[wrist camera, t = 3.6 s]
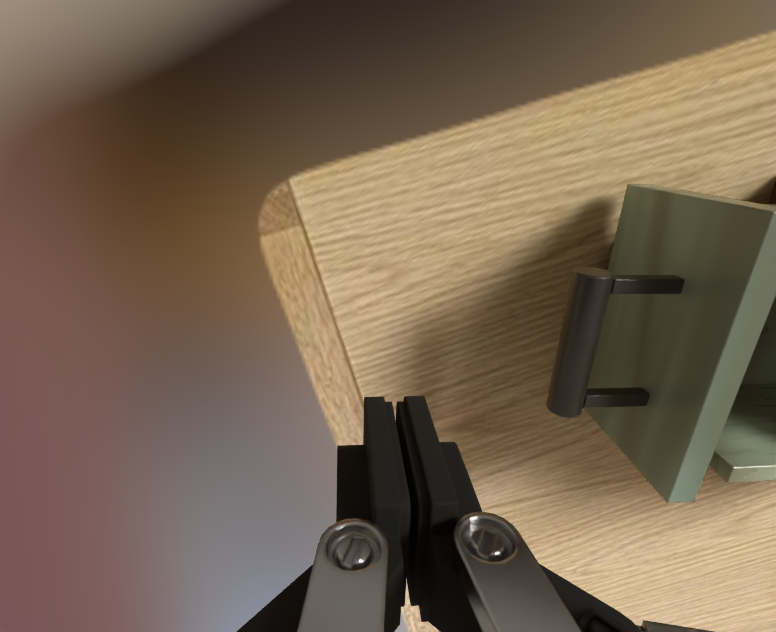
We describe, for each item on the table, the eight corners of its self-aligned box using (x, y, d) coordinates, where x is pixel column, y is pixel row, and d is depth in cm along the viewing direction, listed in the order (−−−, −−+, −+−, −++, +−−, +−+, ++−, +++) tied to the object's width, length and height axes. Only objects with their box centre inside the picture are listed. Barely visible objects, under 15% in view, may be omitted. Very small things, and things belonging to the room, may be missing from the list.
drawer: (502, 402, 24) (565, 509, 17) (536, 181, 19) (641, 208, 13) (797, 394, 26) (960, 487, 19) (890, 190, 21) (1144, 218, 15)
